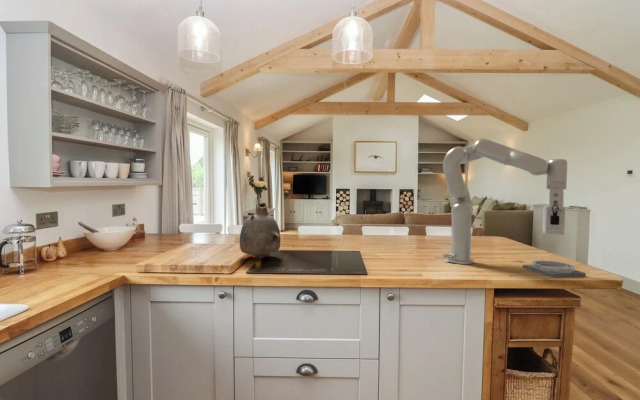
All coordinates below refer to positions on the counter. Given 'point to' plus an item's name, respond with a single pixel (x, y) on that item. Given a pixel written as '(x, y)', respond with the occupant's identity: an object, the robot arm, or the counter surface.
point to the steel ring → (567, 267)
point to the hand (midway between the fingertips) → (554, 223)
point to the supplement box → (547, 218)
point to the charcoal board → (553, 274)
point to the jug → (260, 234)
